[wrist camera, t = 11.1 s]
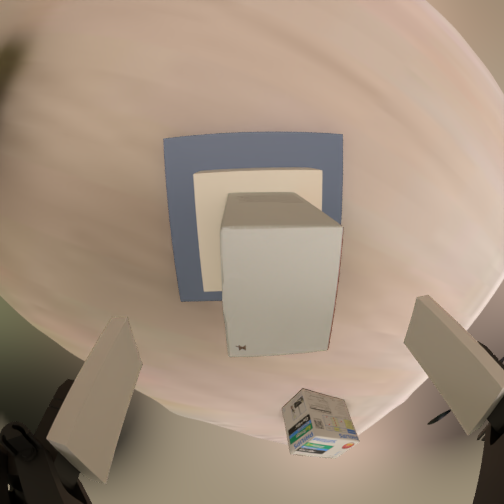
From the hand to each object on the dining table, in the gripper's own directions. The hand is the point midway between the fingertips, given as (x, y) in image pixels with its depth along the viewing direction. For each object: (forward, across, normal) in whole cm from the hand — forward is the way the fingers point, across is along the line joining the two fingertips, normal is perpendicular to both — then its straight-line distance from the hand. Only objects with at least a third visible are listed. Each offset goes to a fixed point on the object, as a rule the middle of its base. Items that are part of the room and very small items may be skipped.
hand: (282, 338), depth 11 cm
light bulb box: (+23, +10, -35) cm, 43 cm away
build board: (+23, 0, 0) cm, 23 cm away
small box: (+16, +1, 0) cm, 17 cm away
